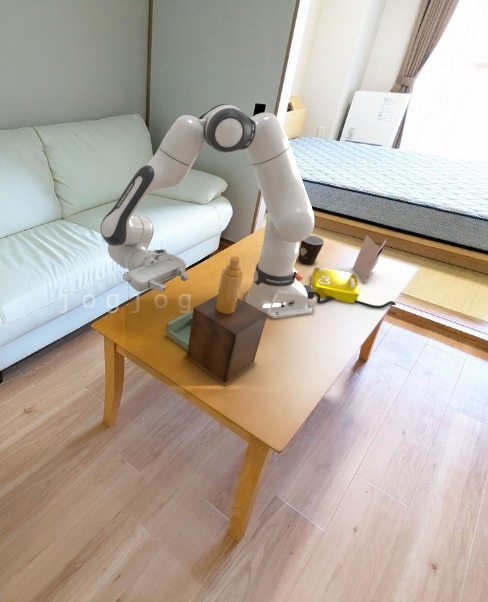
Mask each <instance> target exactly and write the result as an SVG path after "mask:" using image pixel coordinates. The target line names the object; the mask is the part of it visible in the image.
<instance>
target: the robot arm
mask: <svg viewBox="0 0 488 602" xmlns="http://www.w3.org/2000/svg"><path fill="white" fill-rule="evenodd" d="M208 147H210V148H212V149H213V150H215V151H217V152H220V153H232V152H235V151H240V150H244V152H245V155H246V156H247V159H248V162H249V165H250V167H251V169H252V172H253V175H254V177H255V181H256V183H257V185H258V188H259V191H260V194H261V196H262V198H263V202H264V204H265V207H266V211H267V215H266V222H265V228H264V235H263V241H262V242H263V243H262V248H261V251H260V255H259V259H258V262H257V264H256V267H255V269H254V272H253V281H252V283H251V286H250V288H249V289H248V292H247V293H246V295H245V297H244V302H246V303H248V304H250V305H252V306H253V307H255V308H257V309H259V310H261V311H262V312H264V313H266V314H267V317H269V318H270V319H273V320H274V319H282V318H290V317H297V316H304V315H309V314H312V312H313V305H312V303H311V301H310V300H313V299H314V297H315V295H317V296H316V297H317V298H316V303H317V304H320V305H321V304H325V303H327V302H329V301H335V300H334V299H335V298H334V297H330V298H324V299H323V300H321V298H322V297H321V296H320V294H319V293H318V292H315V291H314V290H313V288H312V287H311V284H307V285H306V284H304V285H303V284H302V282H301V281H302V280H303V278H304V277H303V276H302V274H301V273H298V270H297V269H295V266H296V261H297V260H298V256H299V247H300V243H301V241H303V240H305V239H306V238H308V237H309V236H310V235H312V233H313V231H314V229H315V214H314V210H313V208H312V205H311V202H310V199H309V197H308V193H307V190H306V189H305V186H304V183H303V180H302V178H301V175H300V172H299V169H298V166H297V163H296V160H295V157H294V154H293V150H292V148H291V145H290V142H289V138H288V137H287V134H286V132H285V129H284V128H283V126H282V124H281V122H280V120H279V119H278V117H277V115H275V113H272V112H269V111H268V112H267V111H266V112H260V113H257V114H255V115H253V116H248V115H247V114H246V113H244V112H243V111H242V110H241V109H240V108H239V107H237V106H235V105H232V104H229V103H222V104H218V105H216V106H214V107H212V108H211V109H210V110H208V111H206V112H205V113H204V114H202V115H200V116H199V117H196V116H194V115H190V114H184V115H180V116H178V117H177V118H176V120H174V122H173V124H172V125H171V126H170V128H169V129H168V131H167V133H166V134H165V136H164V137H163V139H162V141H161V143H160V145H159V146H158V148H157V150H156V151H155V153H154V155H153V156H152V157H151V159H150V160H149V161H148V162H147V163H146V164H145V165H143V166H142V167H141V168H139V169H138V171H136V173H135V174H134V175H133V176H132V179H130V181H129V183H128V184H127V186H126V187H125V188H124V191H122V194H121V195H120V197H119V198H118V200H117V201H116V203H115V204H114V206H113V207H112V208H111V210H110V211H108V213H107V214H106V215H105V216H104V218H103V219H102V221H101V224H100V234H101V236H102V238H103V240H104V241H105V242H106V243H107V244H108V245H107V254H108V256H109V257H110V258H111V259H112V261H113V262H114V263H115V264H117V265H119V266H120V267H121V268H122V269H125V270H127V271H126V272H124V273H123V274H122V277H121V278H122V279H123V280H124V281H126V282H127V283H128V284H129V286H130V287H132V289H134V290H135V291H137V292H140V293H141V292H144V291H146V290H149V289H151V290H154V291H155V290H156V291H159V292H161V293H163V292H165V291H166V290H167V286H166V284H163V283H164V282H166V281H169V280H171V279H172V278H175V277H180V278H179V279H180V281H182V282H185V281H187V280H188V279H189V275H188V274H187V273H185V272H186V268H187V262H186V261H185V259H183V258H181V257H179V256H177V255H175V254H173V253H168V250H166V249H164V248H162V249H154V250H152V249H148V248H149V246H150V244H151V242H152V239H153V236H154V232H155V231H154V229H155V228H154V225H153V222H152V221H151V219H150V218H149V217H147V216H144V215H137V214H135V212H136V211H137V209H138V208H139V206H140V205H141V203H142V202H143V200H144V199H145V198H146V197H147V196H148V195H151V193H154V192H156V191H159V190H162V189H163V190H164V189H169V188H173V187H175V186H178V185H180V184H181V183H182V182H183V181H184V180H185V178H187V176H188V174H189V172H190V171H191V168H192V167H193V165H194V164H195V162H196V160H197V158H198V156H199V155H200V154H201V152H202V151H203V150H205V149H206V148H208ZM314 294H315V295H314ZM353 304H357V305H362V306H364V307H368V308H371V309H384V308H387V307H388V306H391V305H392V306H397V303H396V302H395V301H394V300H389V301H386V303H384V304H382V305H381V304H380V305H375V304H371V303H367V302H363V301H362V300H361V301H360V300H358V299H357V300H356V301H354V303H353Z"/></svg>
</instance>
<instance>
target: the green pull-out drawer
mask: <svg viewBox="0 0 488 602" xmlns="http://www.w3.org/2000/svg"><path fill="white" fill-rule="evenodd" d="M192 316H193V310H189V311H187V312H185V313H184V314H182V315H180V316H177V317H176V318H174V319H173V320H170V321H169V322H167V324H166V326H165V327H166V337H168V338H169V339H170V340H172V341H173V342H175V343H176V344H177V345H179V346H180V347H181V348H183V349H184V350H186V351H187V352H188V345H189V338H190V330H191V323H192Z"/></svg>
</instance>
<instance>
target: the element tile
mask: <svg viewBox="0 0 488 602" xmlns="http://www.w3.org/2000/svg"><path fill="white" fill-rule="evenodd" d="M310 277H311V278H310V285H311V287H312V288H313V290H314V291H315V292H318V293H319V294H320V296H321V298H324V299H327V298H330V297H334V298H335V299H334V300H333V301H338V302H343V303H346V304H347V303H348V304H355V303H354V301H356V300H357V301H358V297H359V295H360V287H359V280H358V275H357V274H355V273H350V272H345V271H340V270H334V269H329V268H323V267H319V266H318V267H315V268H314V269H313V271H312V274H311V276H310ZM314 297H317V295H315V294H314Z"/></svg>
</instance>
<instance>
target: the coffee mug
mask: <svg viewBox="0 0 488 602" xmlns="http://www.w3.org/2000/svg"><path fill="white" fill-rule="evenodd" d="M324 244H325V239H323V238H322V237H320V236H317V235H312V234H311V235H310V236H309V237H308V238H306V239H305V240H303V241H300V243H299V252H298V256H297V261H298V262H299V264H302V265H306V266H312V265H314V264H315V263H316V260H317V258H318V256H319V254H320V252H321V250H322V248H323V246H324Z"/></svg>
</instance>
